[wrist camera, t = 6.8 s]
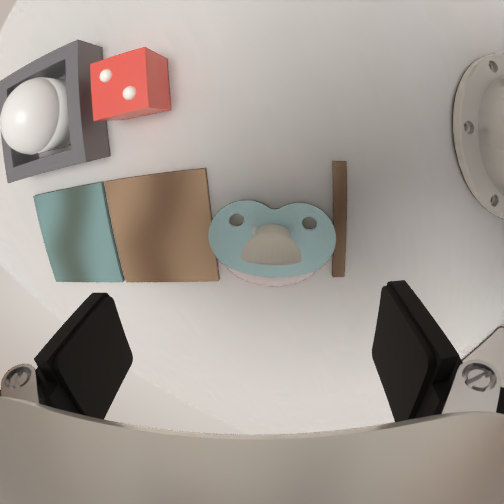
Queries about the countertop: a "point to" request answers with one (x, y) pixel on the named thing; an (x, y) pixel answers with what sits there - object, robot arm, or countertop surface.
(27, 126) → the popper dome
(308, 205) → the pacifier
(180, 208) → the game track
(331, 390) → the countertop surface
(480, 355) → the soap bottle
